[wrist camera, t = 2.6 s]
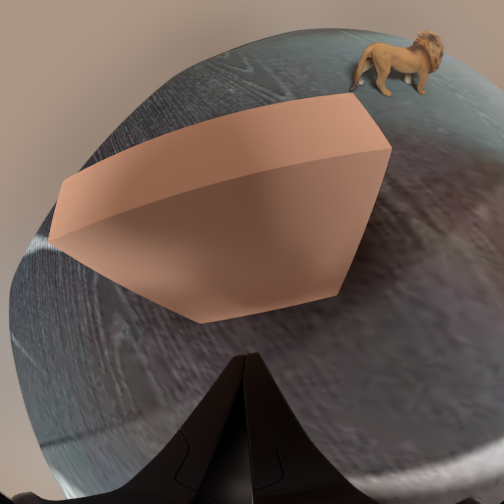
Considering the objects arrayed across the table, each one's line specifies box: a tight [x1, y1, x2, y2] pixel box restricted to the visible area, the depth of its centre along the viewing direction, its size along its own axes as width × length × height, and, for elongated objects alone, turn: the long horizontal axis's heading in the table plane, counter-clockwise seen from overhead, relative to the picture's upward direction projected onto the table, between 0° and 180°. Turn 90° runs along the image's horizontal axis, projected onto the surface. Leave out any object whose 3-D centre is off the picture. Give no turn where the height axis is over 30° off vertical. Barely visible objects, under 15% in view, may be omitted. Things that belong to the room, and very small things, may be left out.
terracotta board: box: [48, 93, 392, 324], centre depth 13 cm, size 2×10×14 cm, turn 99°
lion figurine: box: [350, 31, 444, 96], centre depth 22 cm, size 15×5×9 cm, turn 109°
